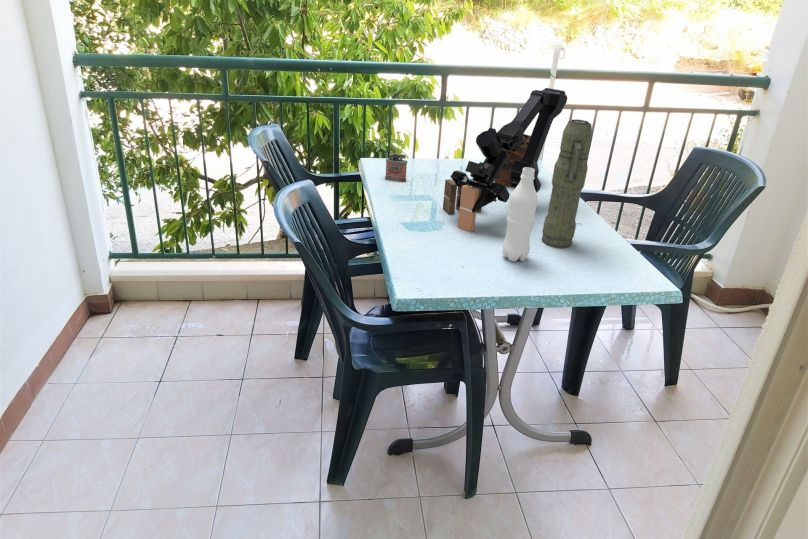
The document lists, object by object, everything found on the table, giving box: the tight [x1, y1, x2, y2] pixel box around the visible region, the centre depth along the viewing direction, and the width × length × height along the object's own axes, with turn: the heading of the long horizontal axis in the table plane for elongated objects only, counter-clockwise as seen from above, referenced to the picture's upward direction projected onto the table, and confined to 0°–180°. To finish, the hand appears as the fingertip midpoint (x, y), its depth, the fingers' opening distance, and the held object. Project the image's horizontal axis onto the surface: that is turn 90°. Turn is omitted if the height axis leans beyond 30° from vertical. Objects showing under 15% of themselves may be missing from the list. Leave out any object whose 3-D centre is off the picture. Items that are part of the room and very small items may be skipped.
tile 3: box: [442, 178, 458, 216], centre depth 180 cm, size 2×5×10 cm, turn 18°
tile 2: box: [455, 186, 460, 212], centre depth 181 cm, size 2×5×10 cm, turn 18°
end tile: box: [457, 185, 479, 233], centre depth 167 cm, size 2×5×13 cm, turn 47°
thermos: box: [541, 119, 593, 249], centre depth 157 cm, size 9×12×35 cm
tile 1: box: [471, 178, 483, 213], centre depth 183 cm, size 2×5×10 cm, turn 19°
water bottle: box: [502, 167, 539, 262], centre depth 148 cm, size 7×7×25 cm
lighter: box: [384, 152, 408, 183], centre depth 206 cm, size 8×3×10 cm, turn 73°
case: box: [494, 133, 531, 188], centre depth 210 cm, size 18×20×18 cm
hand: (465, 209), depth 166 cm, fingers closed on end tile, 5 cm apart
